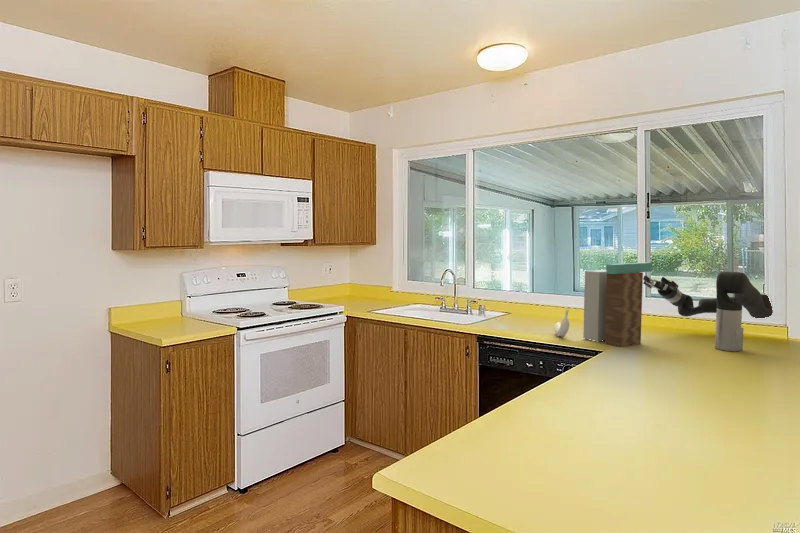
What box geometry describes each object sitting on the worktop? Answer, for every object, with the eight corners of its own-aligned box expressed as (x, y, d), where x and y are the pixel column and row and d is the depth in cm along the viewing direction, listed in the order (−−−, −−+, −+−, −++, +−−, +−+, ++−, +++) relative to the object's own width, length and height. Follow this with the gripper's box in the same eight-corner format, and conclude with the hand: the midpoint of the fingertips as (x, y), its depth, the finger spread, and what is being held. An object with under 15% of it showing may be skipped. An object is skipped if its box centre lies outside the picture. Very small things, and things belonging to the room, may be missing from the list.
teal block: (643, 270, 244) (643, 262, 243) (651, 271, 240) (651, 262, 240) (606, 273, 230) (606, 264, 230) (614, 274, 227) (614, 264, 227)
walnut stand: (624, 340, 243) (626, 271, 241) (640, 343, 236) (642, 272, 234) (605, 343, 236) (606, 272, 234) (620, 347, 229) (622, 274, 227)
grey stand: (603, 335, 253) (604, 269, 251) (617, 338, 246) (619, 270, 244) (583, 339, 246) (584, 271, 244) (597, 342, 239) (599, 272, 237)
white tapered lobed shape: (560, 332, 262) (560, 303, 261) (571, 340, 243) (572, 309, 242) (550, 332, 262) (551, 303, 261) (561, 340, 243) (562, 309, 242)
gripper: (682, 301, 246) (665, 286, 237) (653, 297, 258) (636, 283, 249) (686, 286, 247) (670, 271, 239) (657, 283, 259) (641, 269, 251)
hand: (653, 277), depth 244 cm, fingers open, 8 cm apart
